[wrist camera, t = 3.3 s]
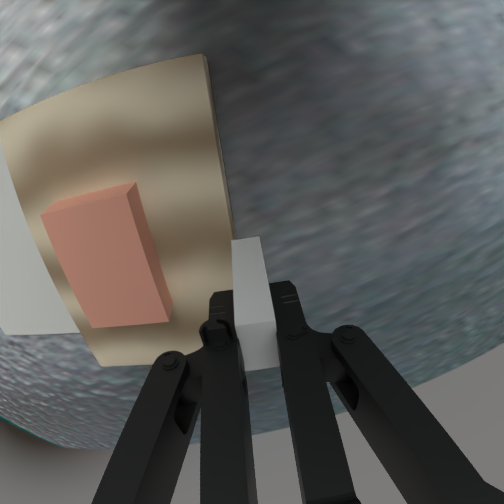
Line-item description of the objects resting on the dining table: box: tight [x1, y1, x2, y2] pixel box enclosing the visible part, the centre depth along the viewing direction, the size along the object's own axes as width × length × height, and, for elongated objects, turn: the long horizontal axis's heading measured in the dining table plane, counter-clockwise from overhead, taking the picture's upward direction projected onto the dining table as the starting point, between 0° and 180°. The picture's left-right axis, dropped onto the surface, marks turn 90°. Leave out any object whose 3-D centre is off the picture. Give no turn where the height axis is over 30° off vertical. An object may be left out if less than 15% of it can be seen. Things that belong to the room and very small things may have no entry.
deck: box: [0, 53, 237, 366], centre depth 22 cm, size 22×14×4 cm, turn 8°
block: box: [40, 182, 173, 328], centre depth 19 cm, size 9×6×2 cm, turn 8°
